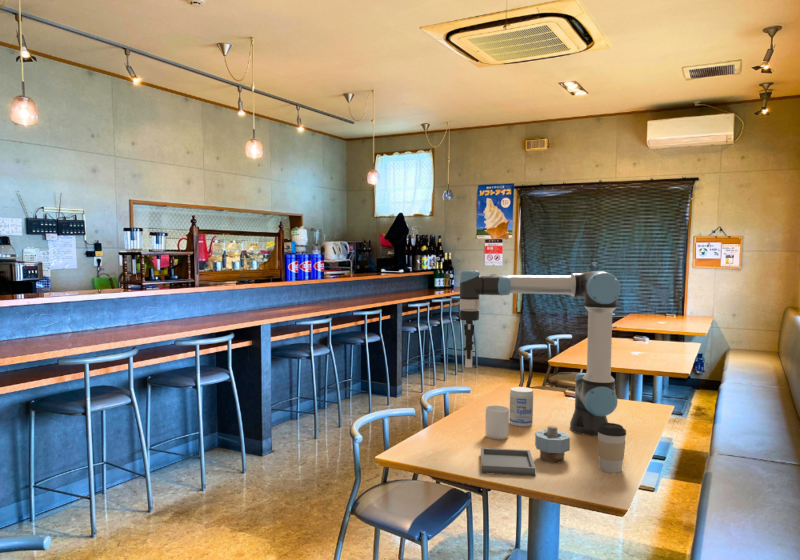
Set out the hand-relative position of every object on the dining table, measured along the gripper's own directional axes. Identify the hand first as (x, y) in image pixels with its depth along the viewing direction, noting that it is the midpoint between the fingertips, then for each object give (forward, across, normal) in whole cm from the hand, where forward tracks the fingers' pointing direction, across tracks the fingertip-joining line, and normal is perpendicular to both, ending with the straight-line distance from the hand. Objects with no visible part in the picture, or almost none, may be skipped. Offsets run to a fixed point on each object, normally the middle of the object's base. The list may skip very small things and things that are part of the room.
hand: (468, 364), depth 219 cm
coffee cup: (+28, +30, +47) cm, 62 cm away
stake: (+28, +23, +29) cm, 46 cm away
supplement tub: (+28, -17, +22) cm, 40 cm away
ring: (+24, +23, +29) cm, 44 cm away
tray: (+28, +31, +13) cm, 44 cm away
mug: (+28, 0, +12) cm, 31 cm away
